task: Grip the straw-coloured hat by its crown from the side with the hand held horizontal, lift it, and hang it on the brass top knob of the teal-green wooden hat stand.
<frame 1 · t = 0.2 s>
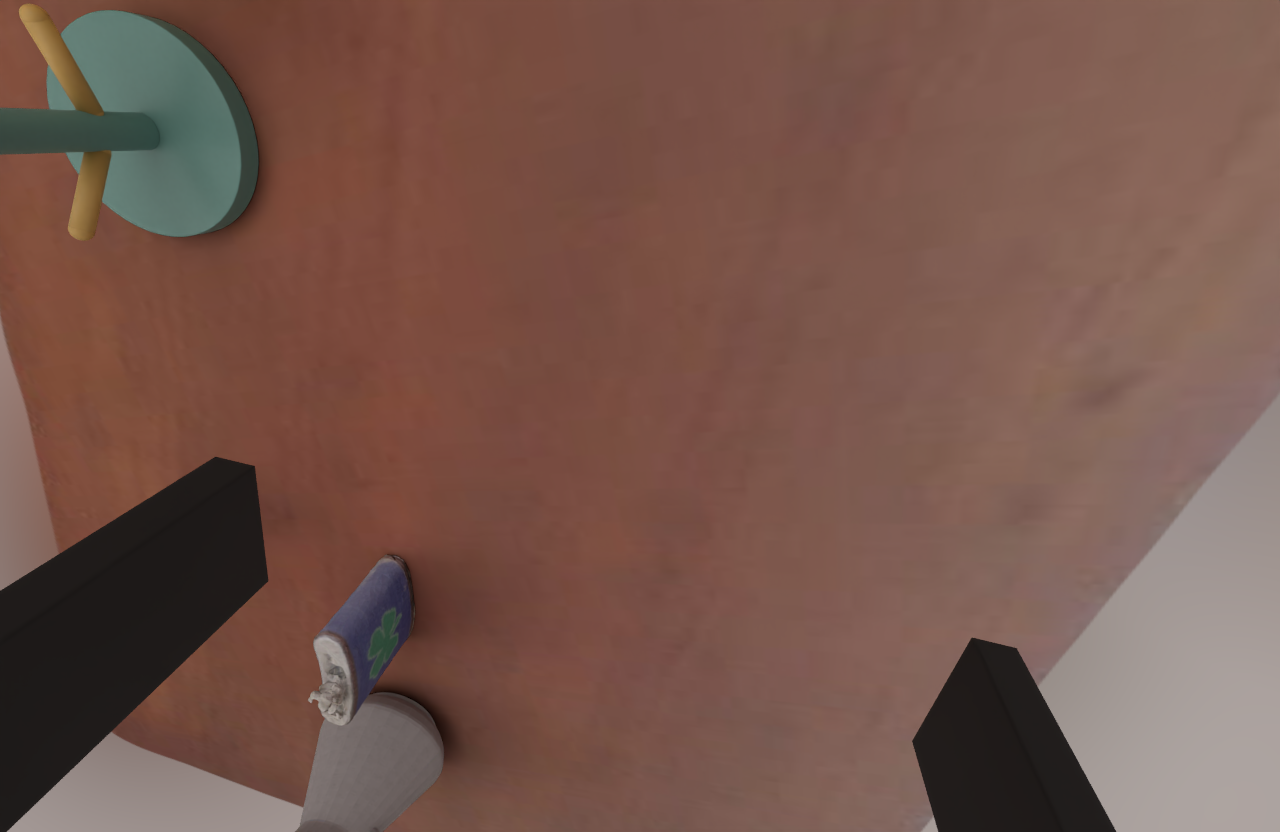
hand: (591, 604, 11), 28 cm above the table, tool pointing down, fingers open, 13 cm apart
coffee pot: (448, 729, 57), on the table
flask 2: (398, 596, 51), on the table
hat stand: (165, 131, 37), on the table
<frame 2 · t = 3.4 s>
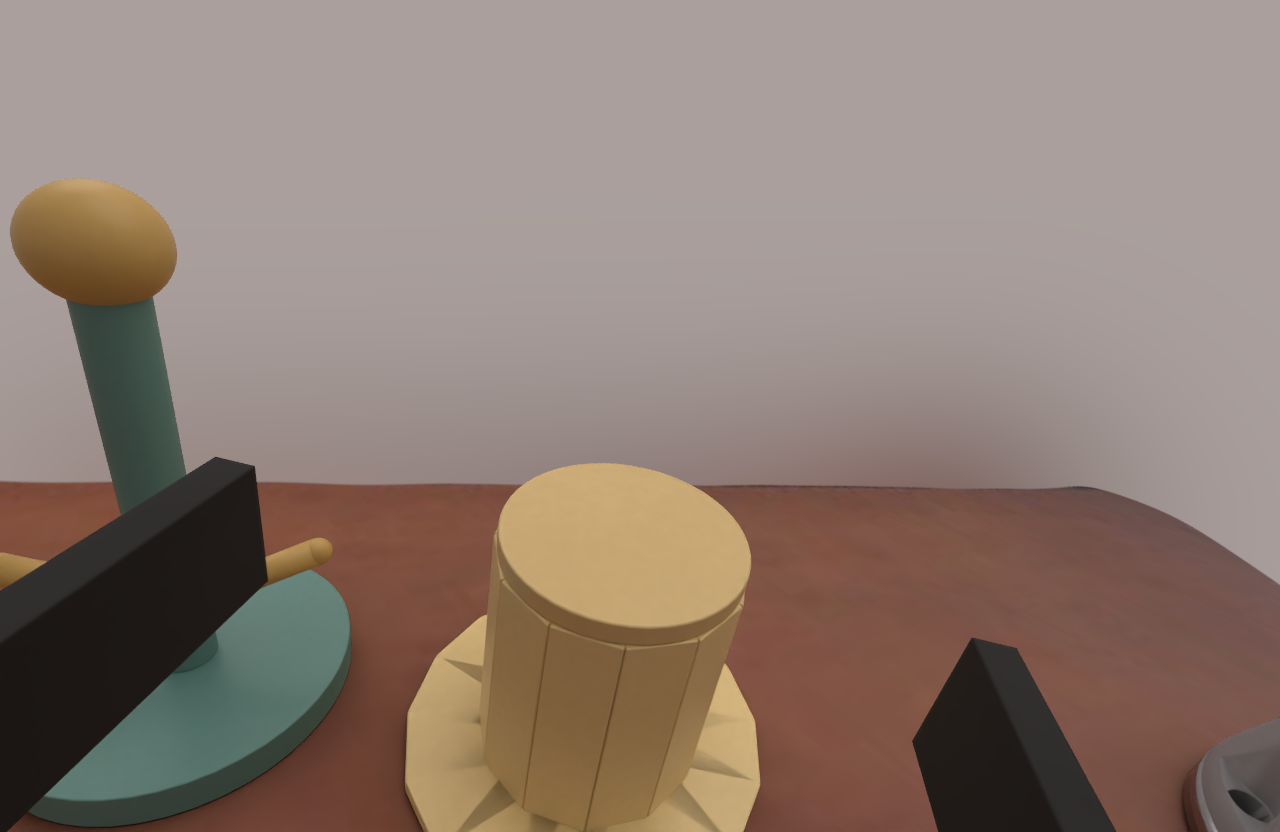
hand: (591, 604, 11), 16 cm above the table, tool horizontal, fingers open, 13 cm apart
hat: (587, 725, 27), on the table
hat stand: (194, 677, 26), on the table
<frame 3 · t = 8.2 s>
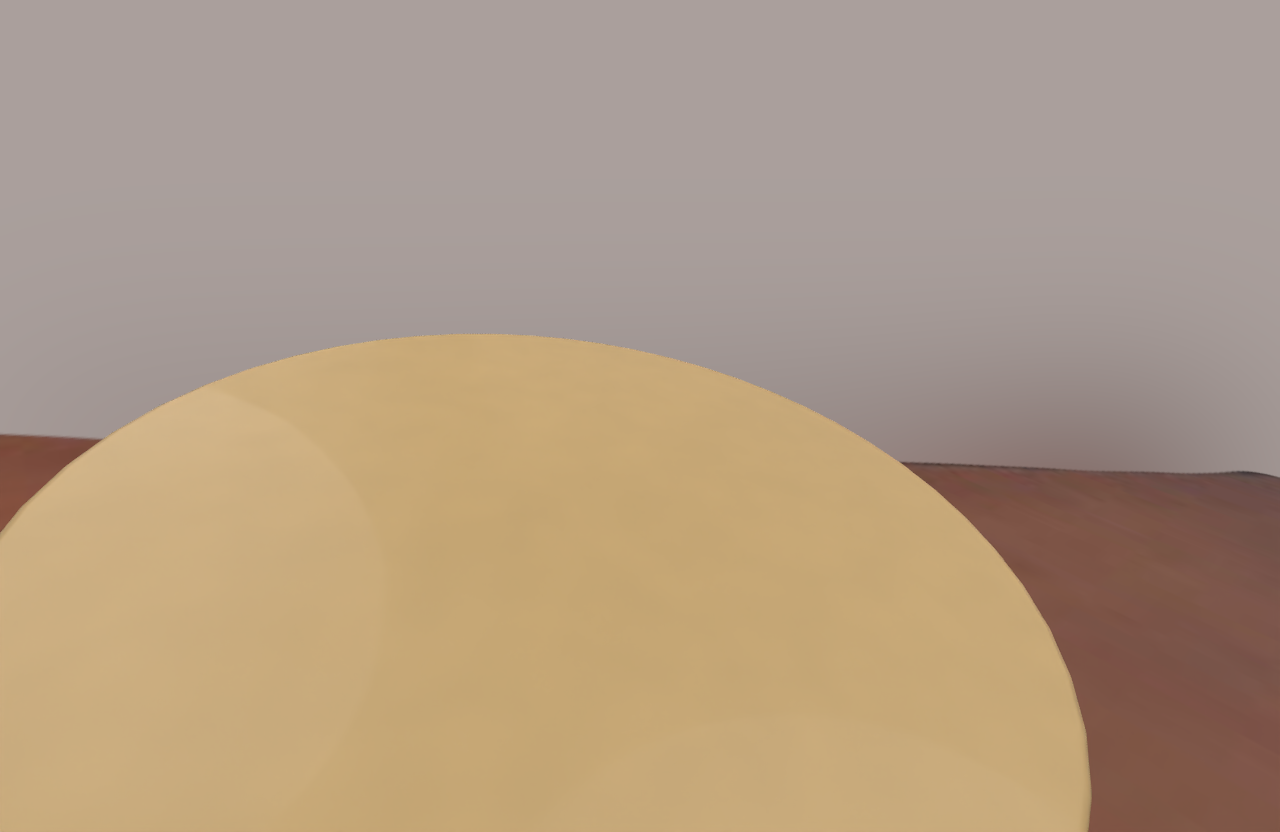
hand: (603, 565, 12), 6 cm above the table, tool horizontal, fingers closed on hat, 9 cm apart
when the fingers open (16 cm above the table, at t = 19.2 s): hat stays where it is, resting on hat stand.
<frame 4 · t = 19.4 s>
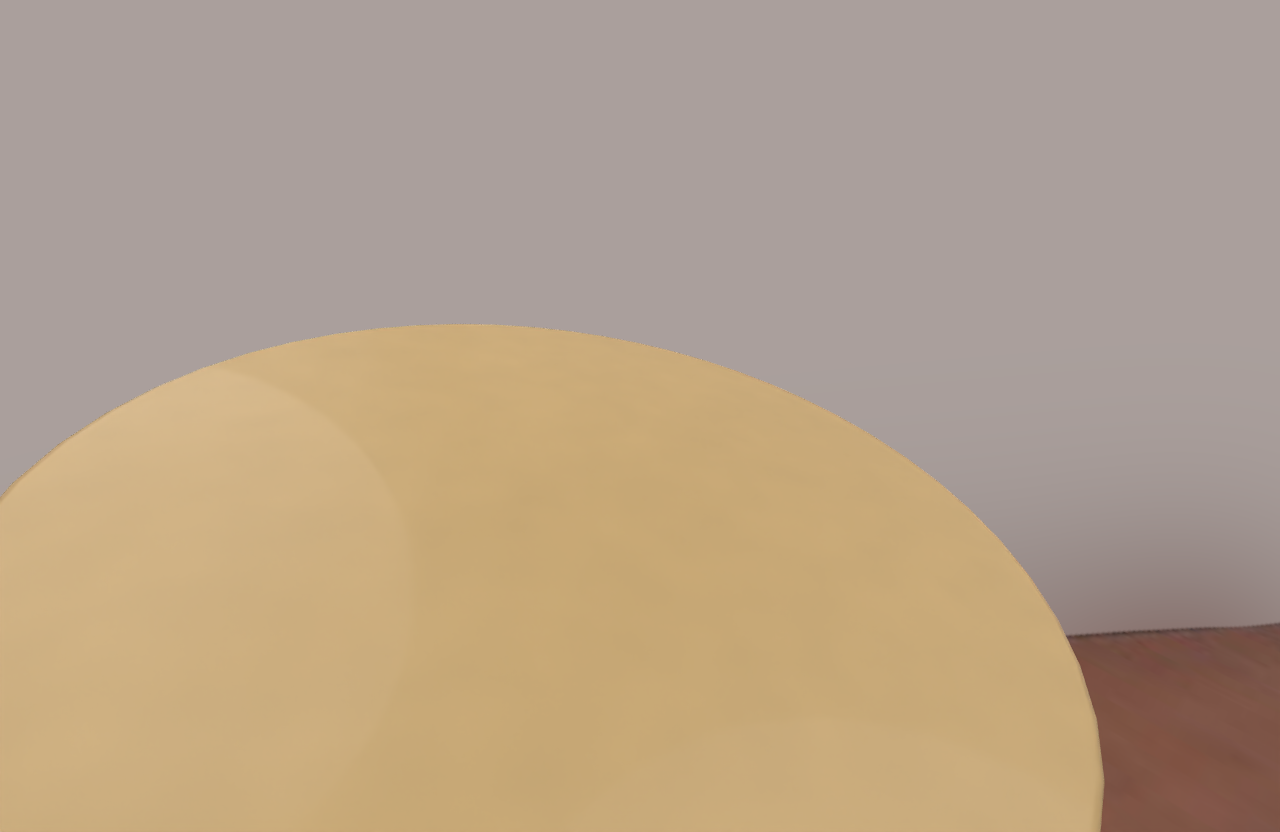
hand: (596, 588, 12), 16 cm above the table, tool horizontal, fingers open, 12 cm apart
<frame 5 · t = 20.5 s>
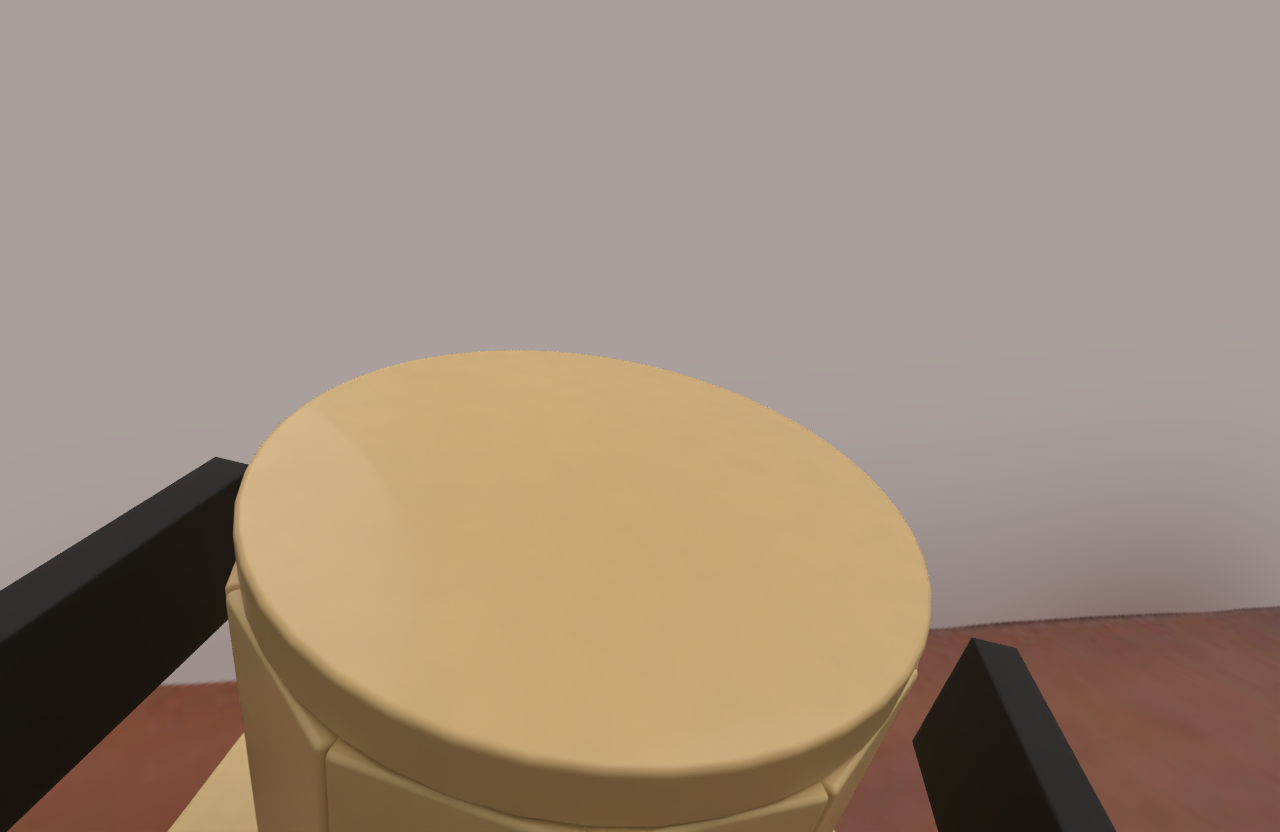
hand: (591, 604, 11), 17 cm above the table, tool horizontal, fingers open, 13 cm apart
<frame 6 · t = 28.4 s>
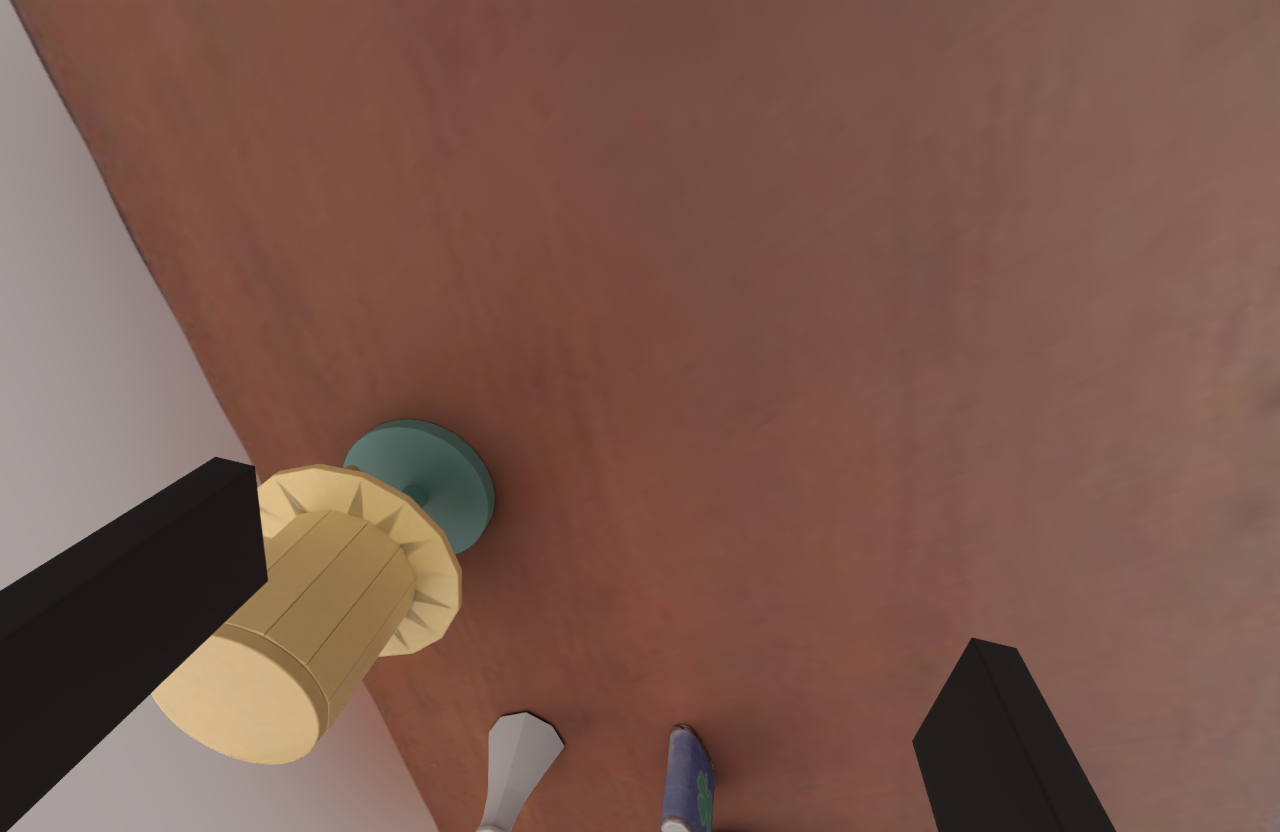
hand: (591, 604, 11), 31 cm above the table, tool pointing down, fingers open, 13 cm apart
hat: (352, 564, 40), point 10 cm above the table, touching hat stand
flask 2: (694, 755, 58), on the table
flask: (528, 734, 60), on the table
hat stand: (423, 486, 49), on the table
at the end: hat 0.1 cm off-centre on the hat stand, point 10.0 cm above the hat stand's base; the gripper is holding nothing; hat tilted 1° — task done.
